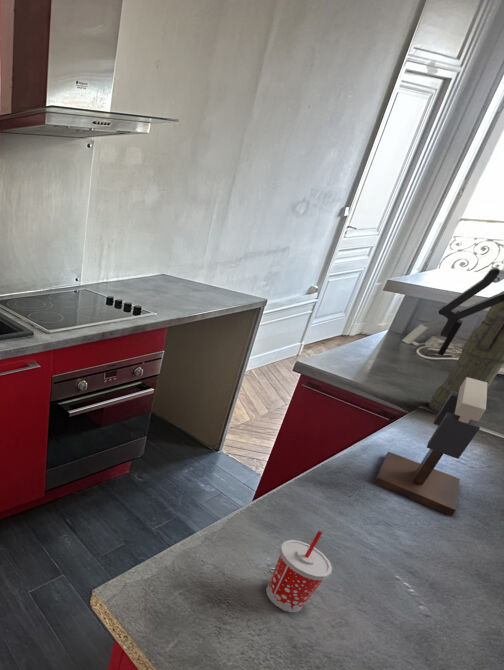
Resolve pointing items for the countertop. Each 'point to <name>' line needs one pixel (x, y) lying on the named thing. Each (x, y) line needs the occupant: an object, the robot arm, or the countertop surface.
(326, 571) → the beverage cup
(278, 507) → the countertop surface
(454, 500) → the headphone stand
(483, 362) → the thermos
